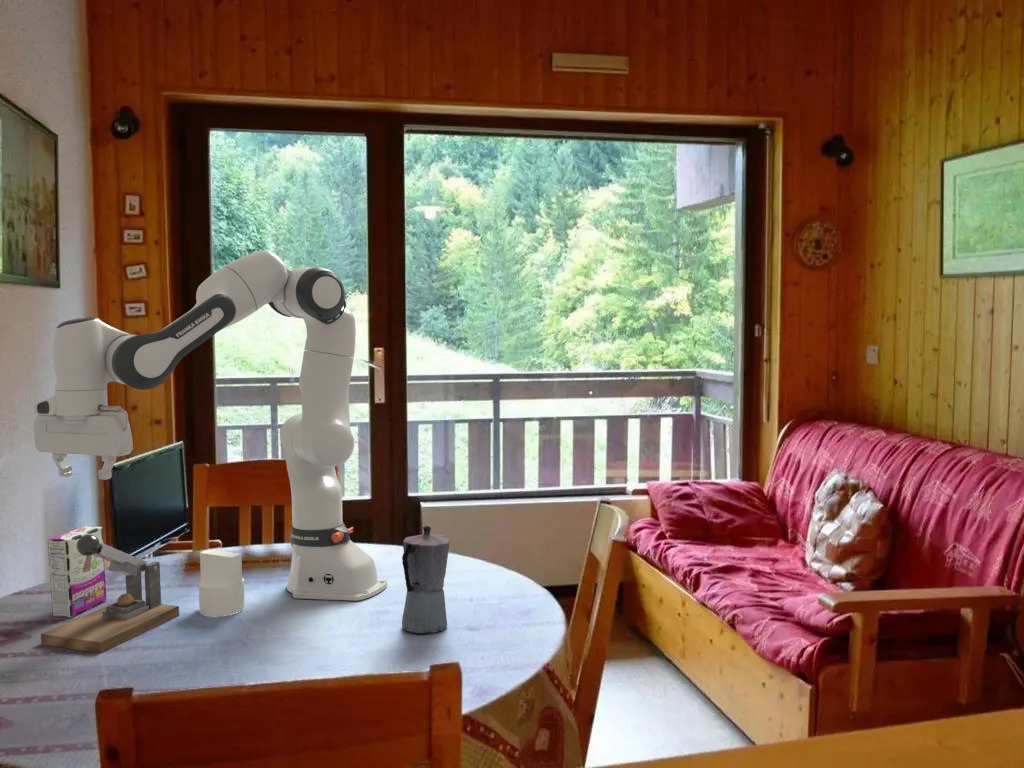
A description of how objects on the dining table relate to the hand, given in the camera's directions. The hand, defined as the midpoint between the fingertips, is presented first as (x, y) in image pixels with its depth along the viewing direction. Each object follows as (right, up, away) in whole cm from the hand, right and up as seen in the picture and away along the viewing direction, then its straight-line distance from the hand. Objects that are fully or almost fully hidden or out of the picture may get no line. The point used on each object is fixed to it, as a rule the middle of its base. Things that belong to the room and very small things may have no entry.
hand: (85, 477), depth 164 cm
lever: (+2, -18, +5) cm, 19 cm away
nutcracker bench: (+2, -31, +7) cm, 31 cm away
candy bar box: (-11, -30, +19) cm, 37 cm away
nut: (+3, -27, +10) cm, 29 cm away
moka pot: (+63, -30, +7) cm, 71 cm away
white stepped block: (+20, -30, +18) cm, 40 cm away
